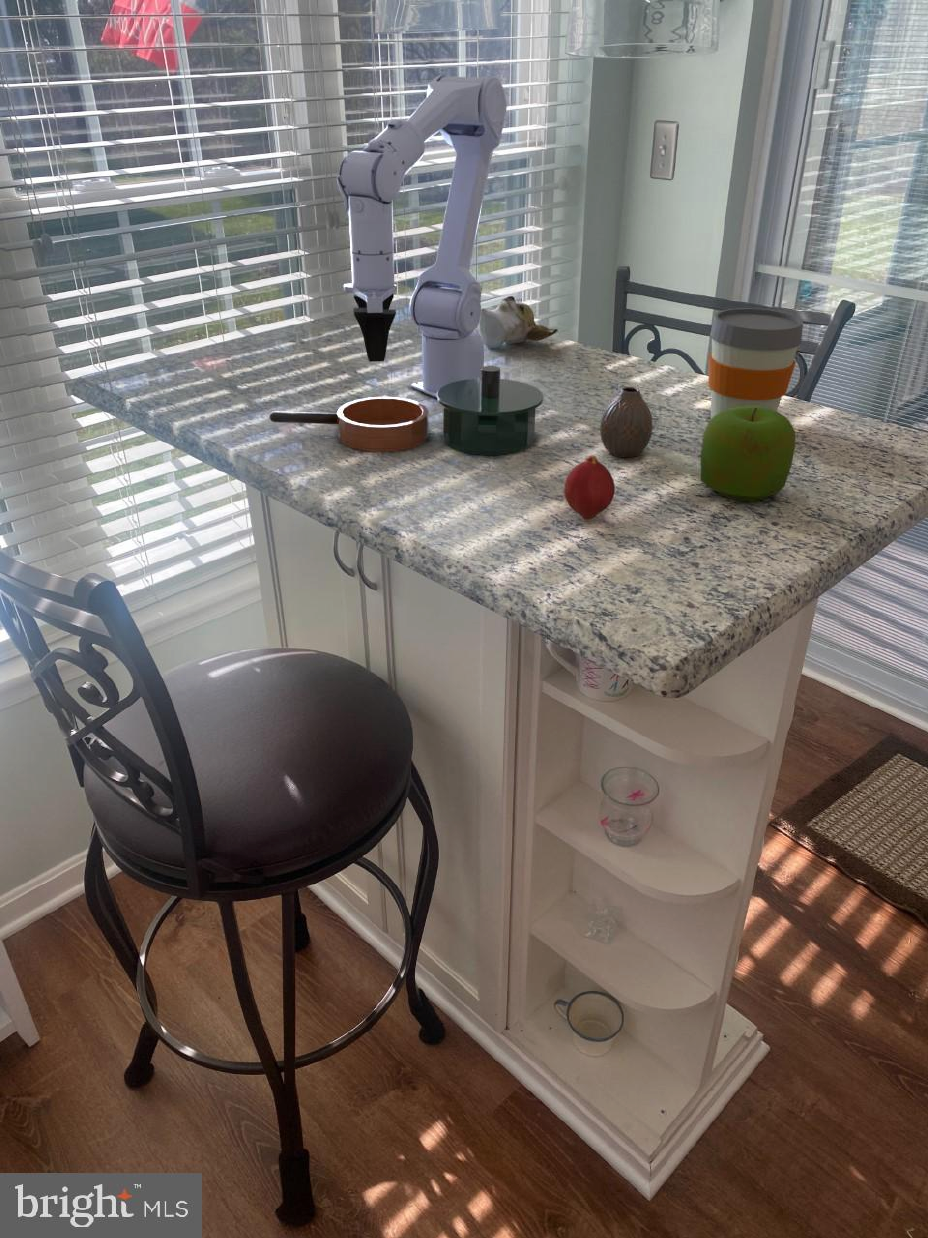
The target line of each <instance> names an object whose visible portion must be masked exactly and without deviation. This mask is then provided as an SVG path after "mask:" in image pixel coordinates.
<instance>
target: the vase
mask: <svg viewBox="0 0 928 1238" xmlns="http://www.w3.org/2000/svg"><path fill="white" fill-rule="evenodd" d="M653 424H654V423H653V417H652V412H651V410H650V408H649V406H648V404H647V403H646V401H645V400H644V398H643V396H642V394H641V391H640V389H639V388H637V387H634V386H624V387H622V388H621V389H620V390H619V392H618V394H617V395H616V396H615V397H614V398H613V399H612V400H611V401H610V403H609V404H608V405H607V406H606V408H605V409H604V411H603V414H602V417H601V420H600V438H601V442H602V445H603V446H604V448H605V449H606V451H607V452H608V453H610V455H612V456H615V457H619V458H633V457H636V456H638V455H639V454H641V453H642V452H643V451H644V450H645V449H646V448H647V446H648V445H649V443H650V440H651V438H652V433H653V426H654V425H653Z"/></svg>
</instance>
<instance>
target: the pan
mask: <svg viewBox="0 0 928 1238" xmlns="http://www.w3.org/2000/svg"><path fill="white" fill-rule="evenodd" d="M336 413H337V424H336V426H337V435H338V439H339V441H340V443H342V444H343V445H345V446H347V447H348V448H352V449H355V450H360V451H365V452H375V453H385V452H386V453H387V452H388V453H389V452H399V451H405V450H409V449H413V448H415V447H418V446H420V445H422V444H423V443H425V442H426V441H427V440H428V438H429V432H430V431H429V430H430V429H429V426H430V425H429V420H430V419H429V417H430V416H429V409H428V408H427V407H426V405H425V404H422V403H421V402H419V401H417V400H413V399H409V398H403V397H397V396H374V397H365V398H359V399H354V400H352V401H349V402H346V403H344V404H343V405H341V406H340V407H339V408H338V410H337V412H336Z"/></svg>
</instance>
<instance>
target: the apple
mask: <svg viewBox="0 0 928 1238" xmlns="http://www.w3.org/2000/svg"><path fill="white" fill-rule="evenodd" d="M795 450H796V430H795V428H794V427H793V425H792V423H791V422H790V421H789V419H788V418H787V417H786V416H785V415H783V414H782V413H781V412H779V411H777V412H776V411H774V410H772V409H769V408H764V407H759V406H741V407H735V408H730V409H727V410H724V411H721V412H720V413H718V414H717V415H715V416H714V417H713V418H712V419H711V418H710V420H709V421H708V423H707V425H706V427H705V430H704V432H703V433H702V441H701V448H700V481H701V482H702V483H703V484H704V485H705V486H706V487H708V489H711V490H713V491H714V492H716V493H718V494H719V495H721V496H724V497H726V498H728V499H730V500H731V499H732V500H735V501H739V502H757V501H761V500H765V499H767V498H769V497H771V496H772V495H775V494H777V493H779V492H781V490H782V489H783V488H784V487H785V486H786V483H787V480H788V477H789V473H790V471H791V468H792V463H793V460H794V454H795Z"/></svg>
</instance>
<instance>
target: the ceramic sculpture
mask: <svg viewBox="0 0 928 1238" xmlns="http://www.w3.org/2000/svg"><path fill="white" fill-rule="evenodd" d="M558 331H559V328H548V327H547V326H545V325H543V324H537V323H536V322H535V314H534V311H533V309H532V308H531V307H530V306H529V304H527V303H525V302H522V301H516V298H515V297H514V296H513V295H508V296H507V297H504V298H502V299H501V300H500V301H499V302H498V305H497V307H496V308H495V309H492V310H490V309H486V308H482V307H481V316H480V320H479V323H478V325H477V332H478V333H479V335H480V336H481V338H482V341H483V345H484V346H486V347H487V348H490V349H499V348H501V347H502V346H503V345H504V344H505V343H506V344H511V345H513V344H519V343H523V342H525V341H533V342H534V341H536V342H537V341H543V340H545V339H548V338H549V337H551V336H553V335H554V334H556V333H558Z"/></svg>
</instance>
